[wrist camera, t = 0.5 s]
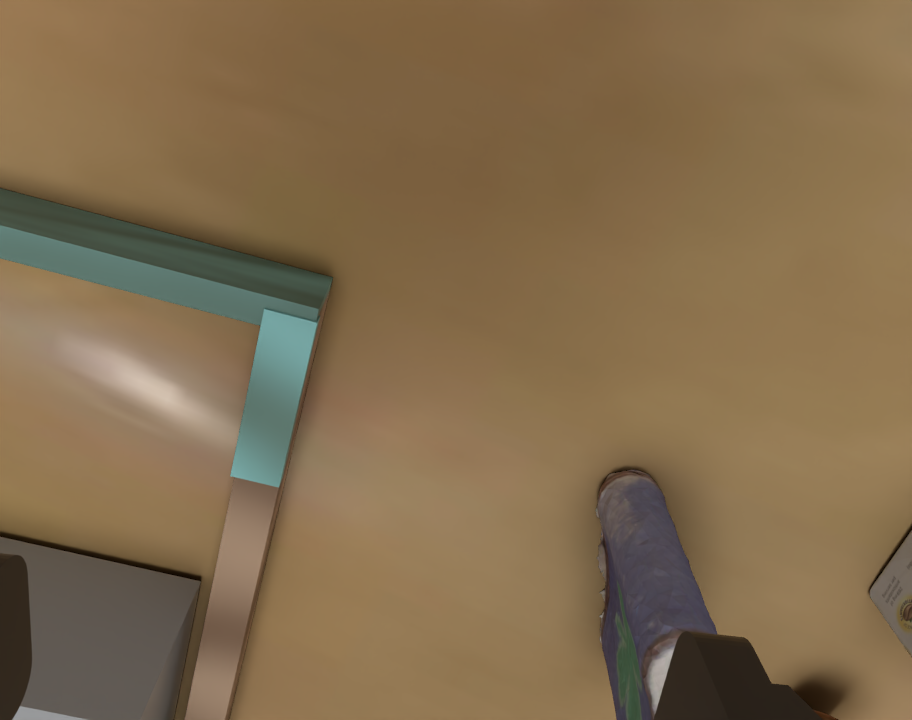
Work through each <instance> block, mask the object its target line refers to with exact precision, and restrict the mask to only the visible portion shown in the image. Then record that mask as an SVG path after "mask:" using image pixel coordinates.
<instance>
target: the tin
mask: <svg viewBox="0 0 912 720" xmlns="http://www.w3.org/2000/svg"><path fill="white" fill-rule="evenodd" d="M814 711H815V712H816V713H817V714H818V715H819V716H820V717H821V718H822V719H823V720H838V719H836V718H834V717H832V716H830V715H828V714H825V713H823V712H819V711H816V710H814Z"/></svg>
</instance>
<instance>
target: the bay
mask: <svg viewBox="0 0 912 720" xmlns="http://www.w3.org/2000/svg"><path fill="white" fill-rule="evenodd" d="M0 258H1V259H5V260H9V261H13V262H17V263H20V264H24V265H28V266H32V267H36V268H40V269H44V270H47V271H51V272H55V273H59V274H63V275H67V276H71V277H74V278H78V279H82V280H86V281H90V282H94V283H97V284H101V285H105V286H109V287H113V288H117V289H121V290H124V291H128V292H132V293H136V294H140V295H144V296H148V297H151V298H155V299H159V300H163V301H167V302H171V303H175V304H178V305H182V306H186V307H190V308H194V309H198V310H202V311H205V312H209V313H213V314H217V315H221V316H225V317H229V318H232V319H236V320H240V321H244V322H248V323H252V324H256V325H259V326H261V327H260V332H259V337H258V342H257V347H256V352H255V357H254V362H253V367H252V372H251V377H250V381H249V386H248V391H247V396H246V401H245V406H244V411H243V416H242V421H241V426H240V431H239V436H238V441H237V446H236V451H235V456H234V461H233V466H232V470H231V475H230V476H232V477H234V481H233V486H232V491H231V496H230V501H229V506H228V511H227V515H226V520H225V525H224V530H223V535H222V540H221V545H220V550H219V555H218V559H217V564H216V569H215V574H214V579H213V584H212V589H211V594H210V598H209V603H208V608H207V613H206V618H205V623H204V628H203V633H202V638H201V642H200V647H199V652H198V657H197V662H196V667H195V672H194V677H193V682H192V686H191V691H190V696H189V701H188V706H187V711H186V716H185V720H229V718H230V714H231V710H232V705H233V701H234V697H235V693H236V688H237V684H238V680H239V675H240V671H241V667H242V663H243V658H244V654H245V650H246V646H247V641H248V637H249V633H250V629H251V624H252V620H253V616H254V612H255V607H256V603H257V599H258V595H259V590H260V586H261V582H262V578H263V573H264V569H265V565H266V561H267V556H268V552H269V548H270V544H271V539H272V535H273V531H274V527H275V522H276V518H277V514H278V509H279V505H280V501H281V497H282V492H283V488H284V484H285V480H286V475H287V471H288V467H289V463H290V458H291V454H292V450H293V446H294V441H295V437H296V433H297V429H298V424H299V420H300V416H301V412H302V407H303V403H304V399H305V395H306V390H307V386H308V382H309V378H310V373H311V369H312V365H313V361H314V356H315V352H316V348H317V343H318V339H319V335H320V331H321V326H322V322H323V318H324V314H325V309H326V305H327V301H328V297H329V292H330V288H331V284H332V280H333V277H329V276H325V275H322V274H318V273H314V272H311V271H307V270H303V269H299V268H296V267H292V266H288V265H284V264H281V263H277V262H273V261H270V260H266V259H262V258H258V257H255V256H251V255H247V254H244V253H240V252H236V251H232V250H229V249H225V248H221V247H217V246H214V245H210V244H206V243H203V242H199V241H195V240H191V239H188V238H184V237H180V236H177V235H173V234H169V233H165V232H162V231H158V230H154V229H151V228H147V227H143V226H139V225H136V224H132V223H128V222H124V221H121V220H117V219H113V218H110V217H106V216H102V215H98V214H95V213H91V212H87V211H84V210H80V209H76V208H72V207H69V206H65V205H61V204H57V203H54V202H50V201H46V200H43V199H39V198H35V197H31V196H28V195H24V194H20V193H17V192H13V191H9V190H5V189H2V188H0Z"/></svg>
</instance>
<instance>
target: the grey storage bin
mask: <svg viewBox="0 0 912 720" xmlns="http://www.w3.org/2000/svg"><path fill="white" fill-rule="evenodd" d="M0 553H4V554H13V555H20V556H22V557H23V559H24V560H25V562H26V565H27V571H28V586H29V605H30V624H31V642H32V668H31V674H30V679H29V683H28V686H27V690H26V693H25V695H24V698H23V700H22V703H21V705H20V707H19V709H18V711H17V713H16V714H15V716H14V718H13V719H12V720H174V715H175V710H176V705H177V700H178V695H179V690H180V685H181V680H182V675H183V669H184V664H185V659H186V654H187V649H188V644H189V639H190V634H191V629H192V624H193V619H194V614H195V609H196V604H197V598H198V593H199V588H200V583H201V581H197V580H192V579H188V578H183V577H179V576H174V575H170V574H165V573H161V572H156V571H152V570H147V569H143V568H138V567H134V566H129V565H125V564H120V563H116V562H111V561H107V560H102V559H98V558H93V557H89V556H84V555H80V554H75V553H71V552H66V551H62V550H57V549H53V548H49V547H44V546H40V545H35V544H31V543H26V542H22V541H17V540H13V539H8V538H4V537H0Z"/></svg>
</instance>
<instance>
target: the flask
mask: <svg viewBox="0 0 912 720" xmlns="http://www.w3.org/2000/svg"><path fill="white" fill-rule="evenodd" d="M632 472H637V473H639V474H641V475H638V474H636V473H632ZM642 475H643V476H642ZM596 512H597V513H596V515H597V517H598V518H599V519H600V523H601V526H602V533H601V535H602V538H601V539H600V540H601V541H602V542H601V544H600V545H599V556H598V557H597V559H598V561H599V569H600V570H601V572H603V576H604V579H605V581H606V586H605V590H603V591H601V592H599V593H601V594H602V597H603V599H604V602H605V610H604V611H603V613H602V615H600V616H599V617H601V627H600V635H601V636H600V642H601V643H602V648H603V652H604V656H605V660H606V665H607V669H608V675H609V680H610V685H611V689H612V694H613V699H614V705H615V711H616V718H617V720H654V716H655V713H656V710H657V706H658V703H659V699H660V696H661V692H662V689H663V685H664V682H665V679H666V675H667V672H668V668H669V665H670V661H671V658H672V655H673V651H674V648H675V645H676V642H677V640H678V637H679V636H680V635H681V633H683V632H685V631H690V632H699V633H708V634H717V631H716V628H715V625H714V623H713V621H712V619H711V618H710V616H709V613H708V611H707V609H706V606H705V604H704V601H703V598H702V595H701V592H700V589H699V587H698V585H697V583H696V580H695V578H694V576H693V573H692V571H691V569H690V565H689V561H688V559H687V557H686V555H685V554H684V551H683V549H682V546H681V544H680V541H679V538H678V535H677V532H676V529H675V526H674V523H673V521H672V519H671V517H670V514H669V512H668V510H667V507H666V503H665V497H664V495H663V493H662V491H661V490H660V488H659V487H658V485H657V484H656V482H655V481H653V480H652V479H651V477H650V475H649V474H646V473H643V472H641V471H637V470H633V469H632V470H629V472H628V471H622V472H621V473H620V472H618V473H616V474H615V473H613V474H611V473H610V474H609V475H608V476H607V478H606V480H605V482H604V483H603V485H602V486H601V488H600V492H599V496H598V504H597V508H596Z"/></svg>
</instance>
